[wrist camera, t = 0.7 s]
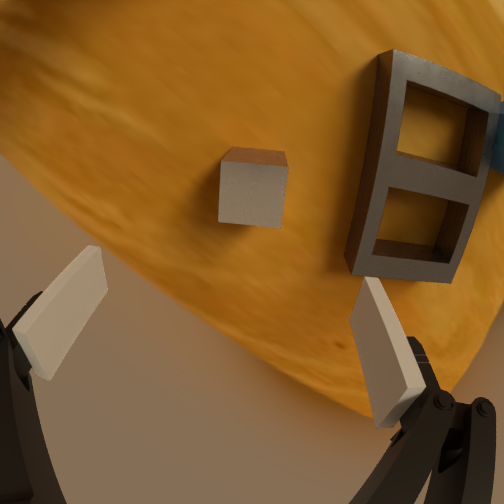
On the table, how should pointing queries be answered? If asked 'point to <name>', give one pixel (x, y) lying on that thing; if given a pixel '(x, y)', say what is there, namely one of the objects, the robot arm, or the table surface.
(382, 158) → the grey compartment tray
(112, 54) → the table surface
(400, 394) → the robot arm
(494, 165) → the water bottle
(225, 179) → the brushed gray brick
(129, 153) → the table surface
